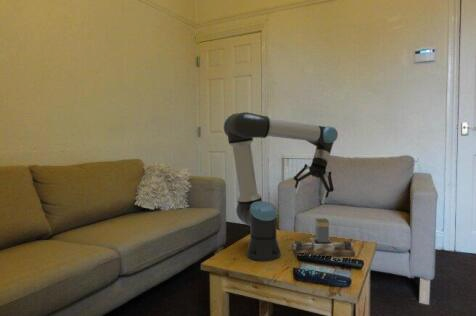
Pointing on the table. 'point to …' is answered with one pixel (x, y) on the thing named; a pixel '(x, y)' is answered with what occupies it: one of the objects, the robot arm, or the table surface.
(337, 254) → the shaft board
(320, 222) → the coupler
